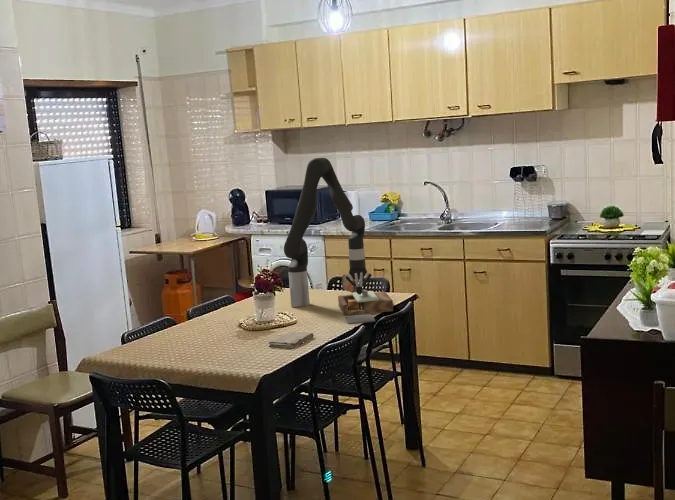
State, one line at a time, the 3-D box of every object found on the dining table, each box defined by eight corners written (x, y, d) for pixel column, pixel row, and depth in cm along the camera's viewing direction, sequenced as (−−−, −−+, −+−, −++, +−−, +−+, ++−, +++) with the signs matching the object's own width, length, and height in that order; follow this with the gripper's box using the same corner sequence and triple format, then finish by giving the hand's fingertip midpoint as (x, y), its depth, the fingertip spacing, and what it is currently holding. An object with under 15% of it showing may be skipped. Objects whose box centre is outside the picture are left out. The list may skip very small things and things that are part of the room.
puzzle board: (343, 315, 352) (343, 305, 351) (338, 305, 373) (337, 295, 372) (393, 310, 354) (392, 300, 353) (385, 301, 375) (384, 291, 374)
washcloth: (267, 348, 308) (266, 341, 308) (289, 336, 324) (289, 329, 324) (292, 350, 303) (292, 342, 303) (314, 338, 319) (313, 331, 318)
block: (349, 311, 360) (349, 301, 360) (348, 309, 365) (347, 299, 364) (359, 310, 361) (358, 300, 360) (357, 308, 365) (357, 298, 365)
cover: (357, 302, 353) (357, 295, 352) (352, 294, 371) (351, 287, 371) (378, 300, 354) (378, 293, 353) (372, 292, 372) (372, 285, 372)
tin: (341, 288, 413) (340, 273, 411) (346, 288, 414) (345, 272, 413) (353, 293, 399) (352, 277, 398) (359, 292, 400) (358, 276, 399)
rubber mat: (348, 324, 336) (348, 322, 336) (345, 317, 347) (345, 316, 347) (375, 321, 337) (375, 320, 337) (371, 315, 349) (371, 314, 349)
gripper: (369, 255, 364) (372, 291, 366) (342, 258, 362) (344, 293, 365) (372, 258, 356) (374, 294, 359) (343, 260, 355) (346, 297, 358)
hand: (359, 294), depth 362 cm, fingers closed
